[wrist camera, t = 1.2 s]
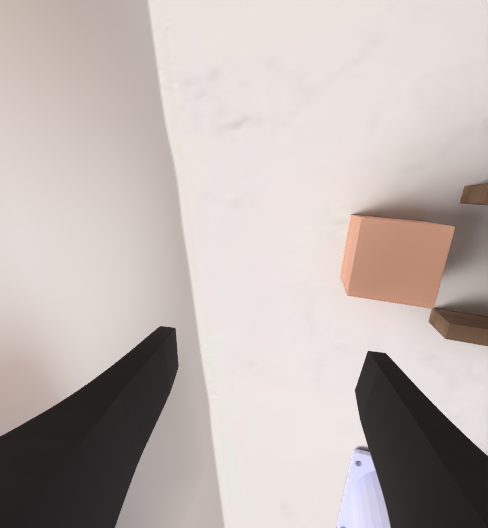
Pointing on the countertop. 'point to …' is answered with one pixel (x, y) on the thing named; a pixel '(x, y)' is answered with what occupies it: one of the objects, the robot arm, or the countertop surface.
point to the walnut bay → (455, 322)
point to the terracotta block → (395, 259)
